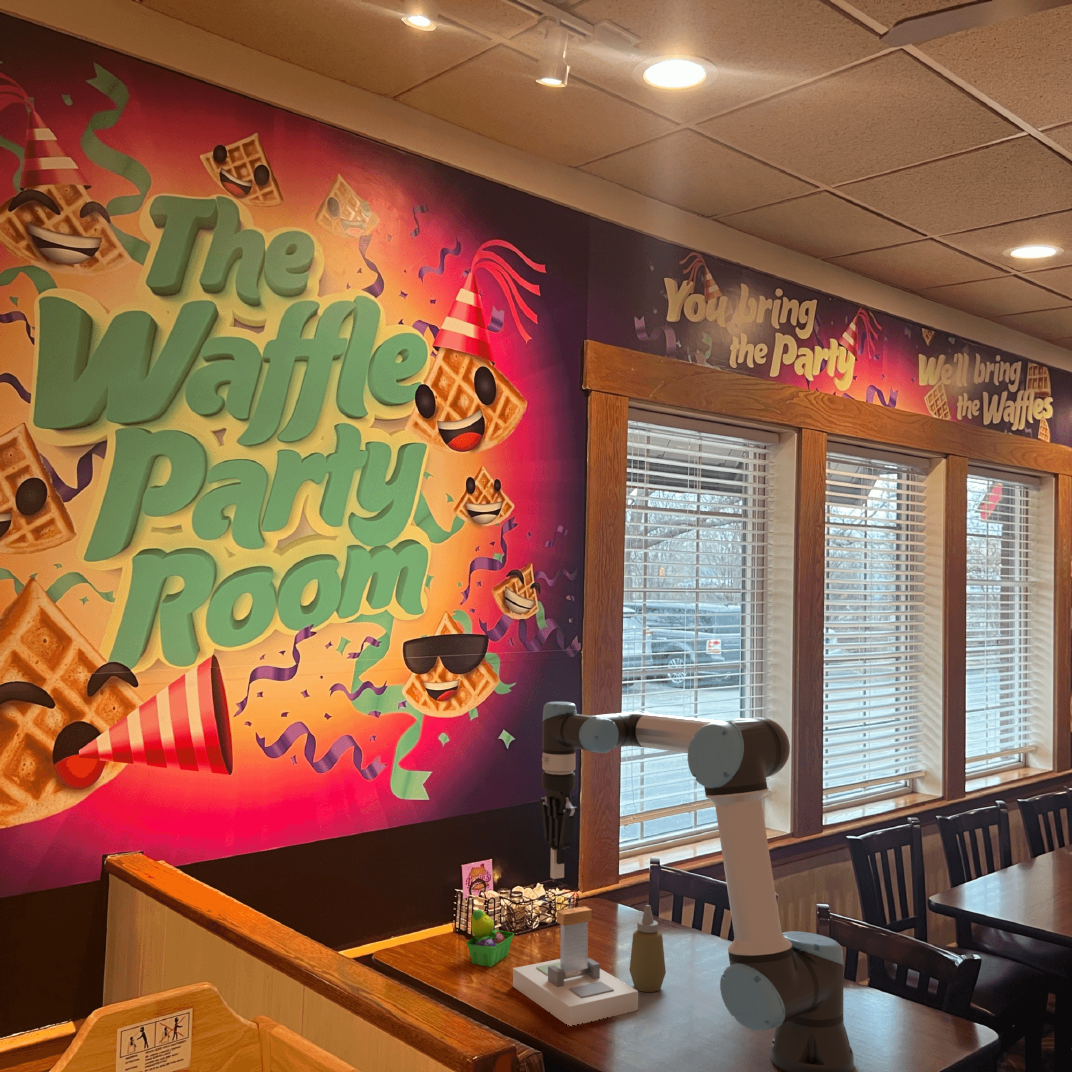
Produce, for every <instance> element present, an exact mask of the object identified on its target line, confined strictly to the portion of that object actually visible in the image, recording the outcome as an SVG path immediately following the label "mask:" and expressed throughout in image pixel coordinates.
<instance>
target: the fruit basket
mask: <svg viewBox="0 0 1072 1072" xmlns="http://www.w3.org/2000/svg"><path fill="white" fill-rule="evenodd" d="M494 927H495V923H494V920H493V919H492V918H491V917H490V916H489V915H488V914H487V913H485V912H484V911H483V910H482V909H475V910H474V911H473V913H472V915H471V927H470V928H471V932H472V934H473V936H472V938H470V939H469V940H467V941H466V942H465V943H466V946H467V948H468V952H469V956H470V959H471V960H470V961H471V963H472V964H473V965H479V966H483V967H488V968H491V967H493V966H495V964H498V962H499V961H502V960H503V959H504V958H506V957H507V956H509V952H510V948H511V944H512V941H513V938H514V935H515V933H513V932H510V931H504V930H499V929H495V928H494Z"/></svg>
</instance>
